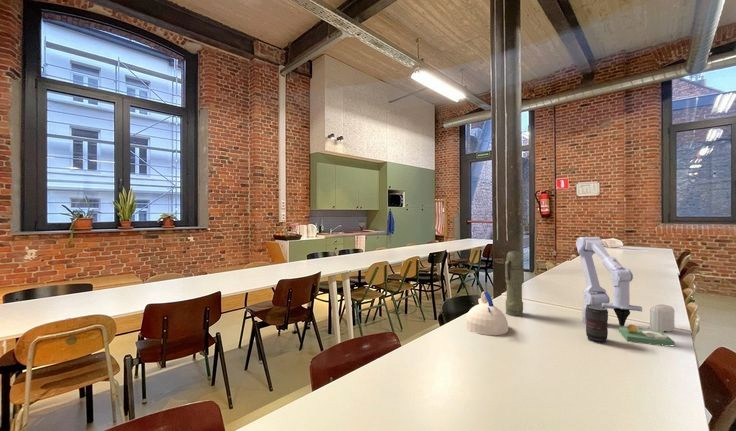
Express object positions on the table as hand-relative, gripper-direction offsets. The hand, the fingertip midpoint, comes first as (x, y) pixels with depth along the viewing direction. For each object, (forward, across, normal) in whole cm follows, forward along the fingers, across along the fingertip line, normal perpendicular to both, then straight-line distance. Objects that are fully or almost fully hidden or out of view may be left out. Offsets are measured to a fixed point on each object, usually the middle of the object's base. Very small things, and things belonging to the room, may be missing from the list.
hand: (621, 325), depth 148 cm
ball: (+1, +4, 0) cm, 4 cm away
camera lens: (+5, -12, -10) cm, 16 cm away
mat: (+5, +8, 0) cm, 10 cm away
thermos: (+5, -44, +17) cm, 48 cm away
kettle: (+5, -58, -11) cm, 59 cm away
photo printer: (+5, +20, +15) cm, 25 cm away
